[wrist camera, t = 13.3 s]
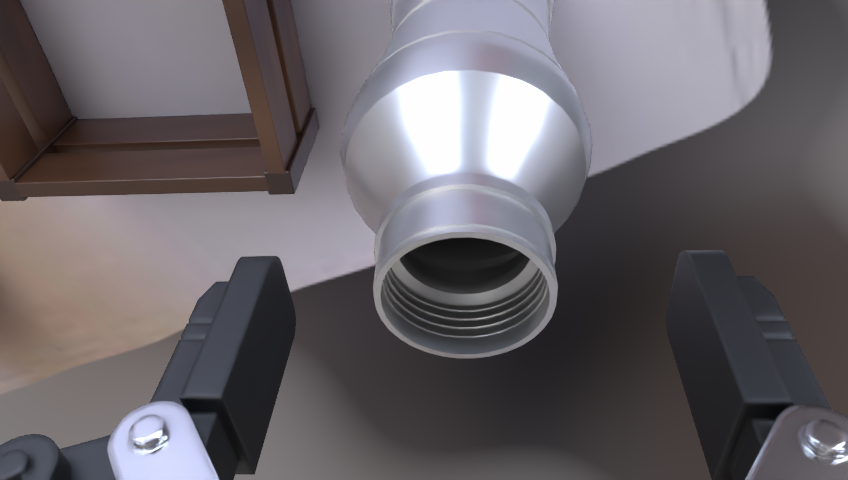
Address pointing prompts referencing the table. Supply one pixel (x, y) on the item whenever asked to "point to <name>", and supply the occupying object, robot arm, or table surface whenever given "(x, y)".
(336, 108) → the table surface
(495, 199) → the metal water bottle
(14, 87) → the crate
